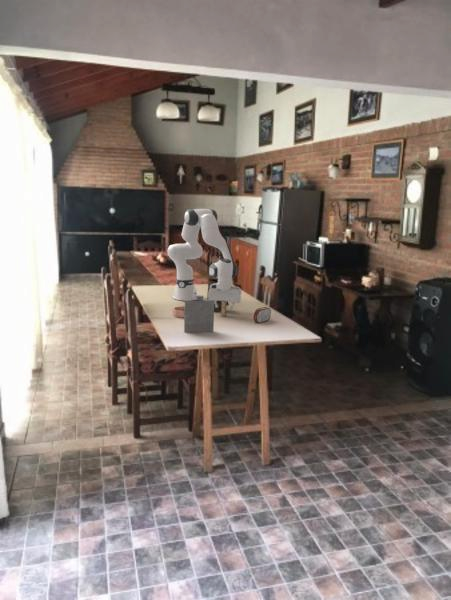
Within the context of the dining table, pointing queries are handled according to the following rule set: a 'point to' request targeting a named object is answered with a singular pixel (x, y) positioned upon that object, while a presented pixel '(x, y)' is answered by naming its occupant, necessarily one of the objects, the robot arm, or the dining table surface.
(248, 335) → the dining table surface
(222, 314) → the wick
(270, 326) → the dining table surface
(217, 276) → the robot arm
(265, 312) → the tin
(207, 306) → the hip flask
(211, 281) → the beer stein
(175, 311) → the candle jar
